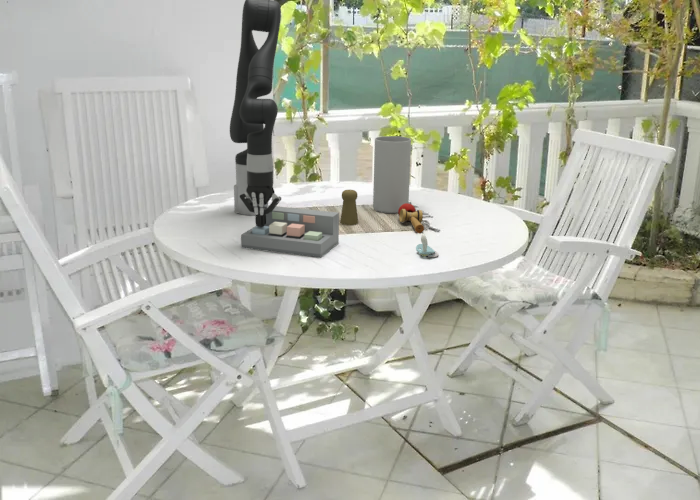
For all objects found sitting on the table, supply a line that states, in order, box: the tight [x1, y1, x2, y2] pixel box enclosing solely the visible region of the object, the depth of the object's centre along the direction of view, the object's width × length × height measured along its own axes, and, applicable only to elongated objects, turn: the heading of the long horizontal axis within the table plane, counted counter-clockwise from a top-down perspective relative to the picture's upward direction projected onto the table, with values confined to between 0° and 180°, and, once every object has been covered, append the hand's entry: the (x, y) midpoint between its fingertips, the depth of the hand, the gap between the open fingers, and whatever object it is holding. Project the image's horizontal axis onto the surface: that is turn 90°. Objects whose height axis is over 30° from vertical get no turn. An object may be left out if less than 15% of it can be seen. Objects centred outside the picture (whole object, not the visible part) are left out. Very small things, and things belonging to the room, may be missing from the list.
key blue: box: [251, 225, 269, 235], centre depth 224 cm, size 4×4×4 cm
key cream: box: [269, 222, 287, 237], centre depth 222 cm, size 4×4×4 cm
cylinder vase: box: [372, 135, 412, 214], centre depth 263 cm, size 12×12×25 cm
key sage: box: [304, 231, 322, 241], centre depth 219 cm, size 4×4×4 cm
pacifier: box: [415, 234, 439, 258], centre depth 217 cm, size 7×6×6 cm
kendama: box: [397, 203, 425, 234], centre depth 247 cm, size 8×6×18 cm
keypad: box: [240, 204, 340, 259], centre depth 223 cm, size 25×15×10 cm, turn 71°
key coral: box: [287, 224, 305, 239], centre depth 220 cm, size 4×4×4 cm
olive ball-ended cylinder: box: [339, 189, 359, 226], centre depth 248 cm, size 6×6×11 cm
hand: (261, 226), depth 223 cm, fingers closed
